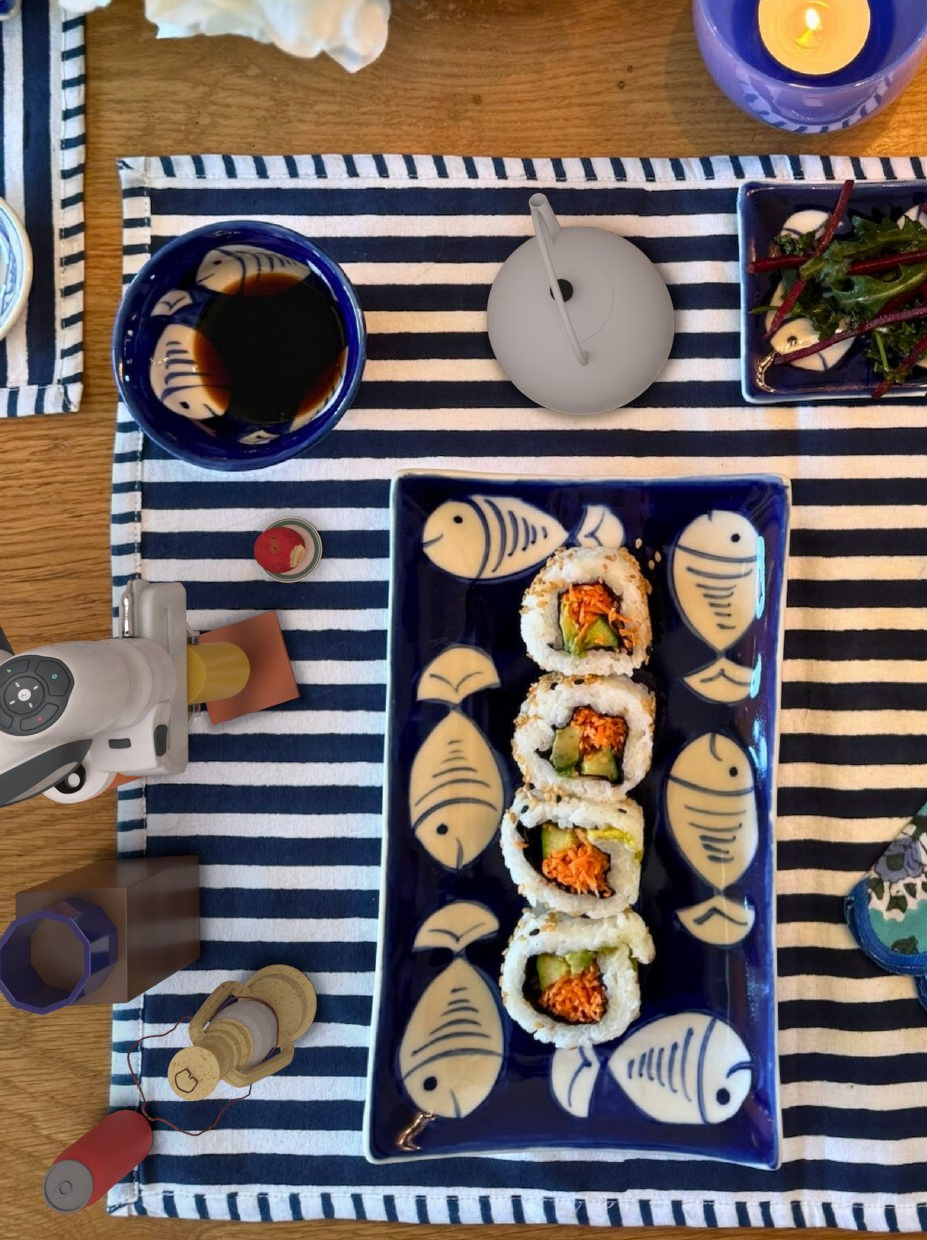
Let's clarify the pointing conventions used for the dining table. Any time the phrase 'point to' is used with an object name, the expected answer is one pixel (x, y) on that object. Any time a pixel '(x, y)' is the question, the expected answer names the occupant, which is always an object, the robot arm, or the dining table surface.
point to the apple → (288, 549)
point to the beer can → (97, 1162)
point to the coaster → (255, 667)
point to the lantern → (241, 1034)
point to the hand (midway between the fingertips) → (193, 674)
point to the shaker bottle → (86, 783)
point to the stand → (120, 924)
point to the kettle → (579, 317)
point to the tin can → (215, 671)
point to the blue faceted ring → (15, 977)
